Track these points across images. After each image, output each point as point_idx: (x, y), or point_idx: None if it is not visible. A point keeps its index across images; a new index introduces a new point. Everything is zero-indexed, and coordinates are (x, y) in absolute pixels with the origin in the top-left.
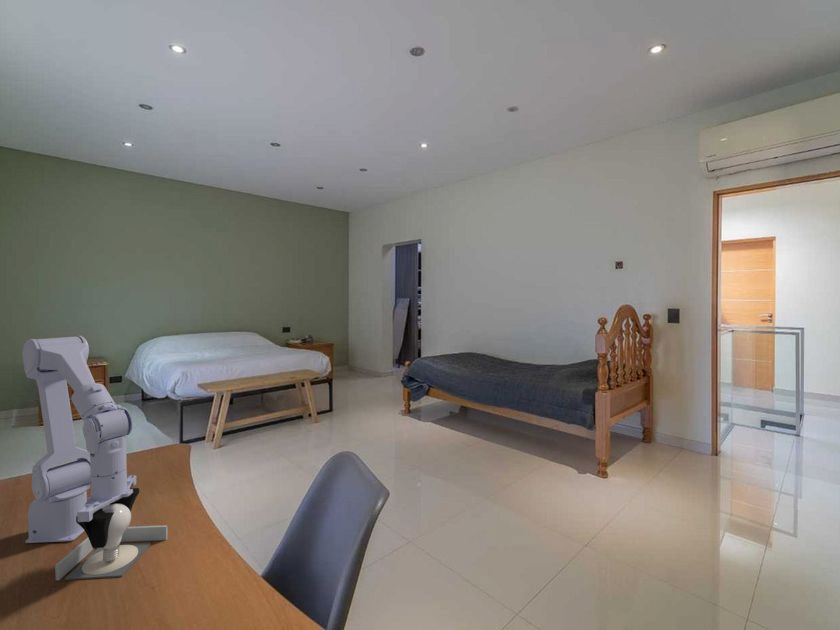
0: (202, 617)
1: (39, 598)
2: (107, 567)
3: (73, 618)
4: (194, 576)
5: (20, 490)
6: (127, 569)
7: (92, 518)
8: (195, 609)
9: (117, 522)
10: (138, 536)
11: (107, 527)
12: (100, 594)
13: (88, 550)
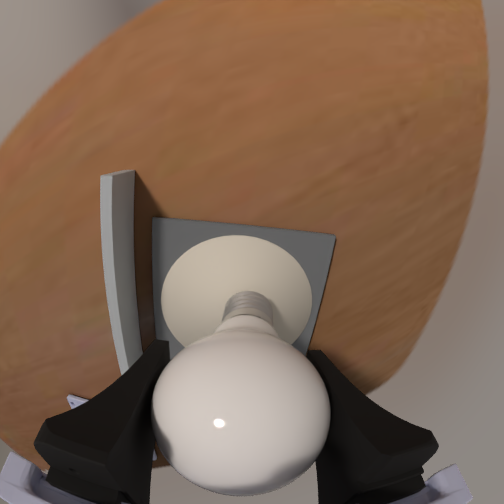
0: (478, 26)
1: (350, 375)
2: (282, 298)
3: (441, 274)
4: (373, 21)
5: (49, 466)
6: (305, 232)
7: (442, 472)
8: (466, 32)
9: (318, 391)
10: (128, 276)
11: (352, 404)
12: (391, 258)
13: None
